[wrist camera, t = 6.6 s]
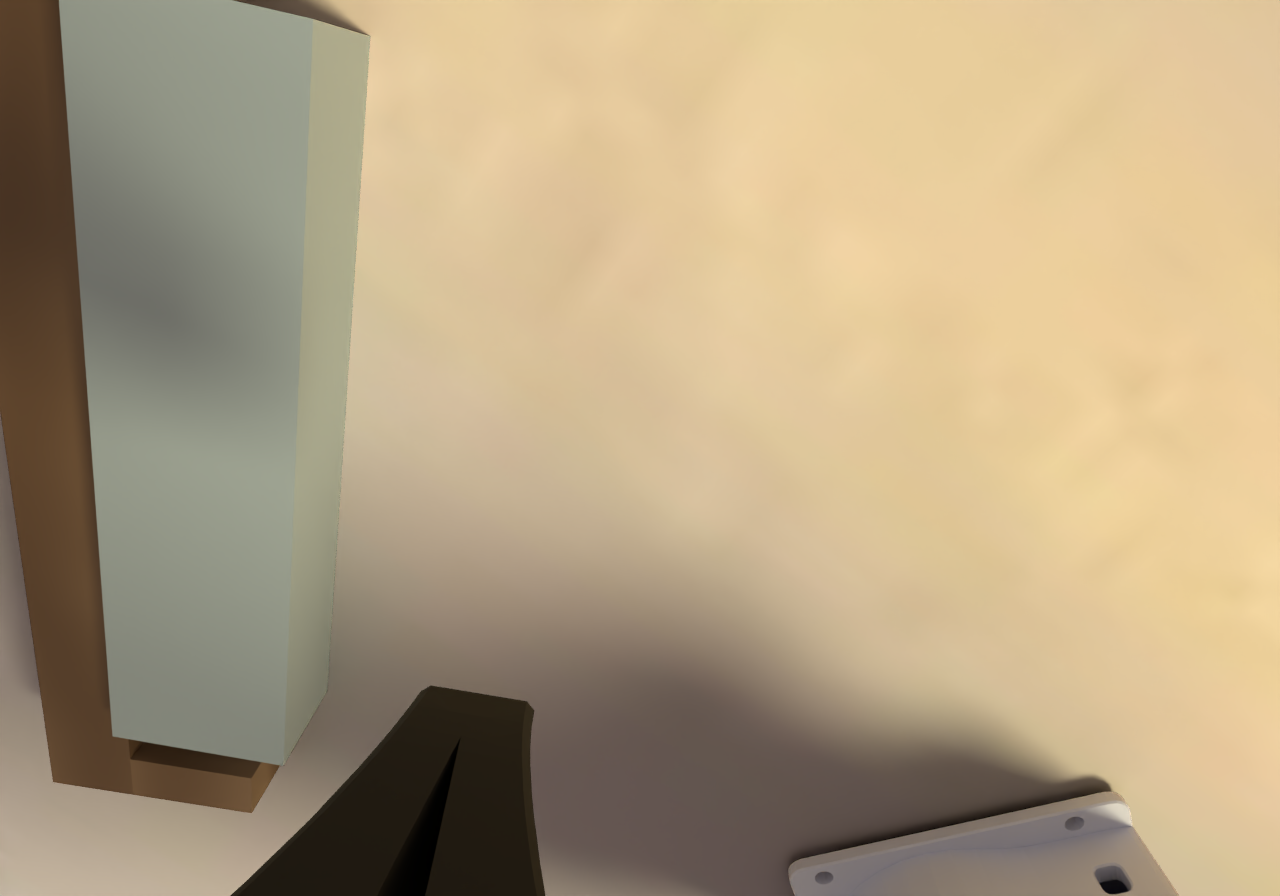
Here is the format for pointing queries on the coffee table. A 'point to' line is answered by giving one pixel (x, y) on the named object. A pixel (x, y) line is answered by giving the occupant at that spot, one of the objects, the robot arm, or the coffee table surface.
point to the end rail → (67, 443)
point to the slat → (215, 353)
